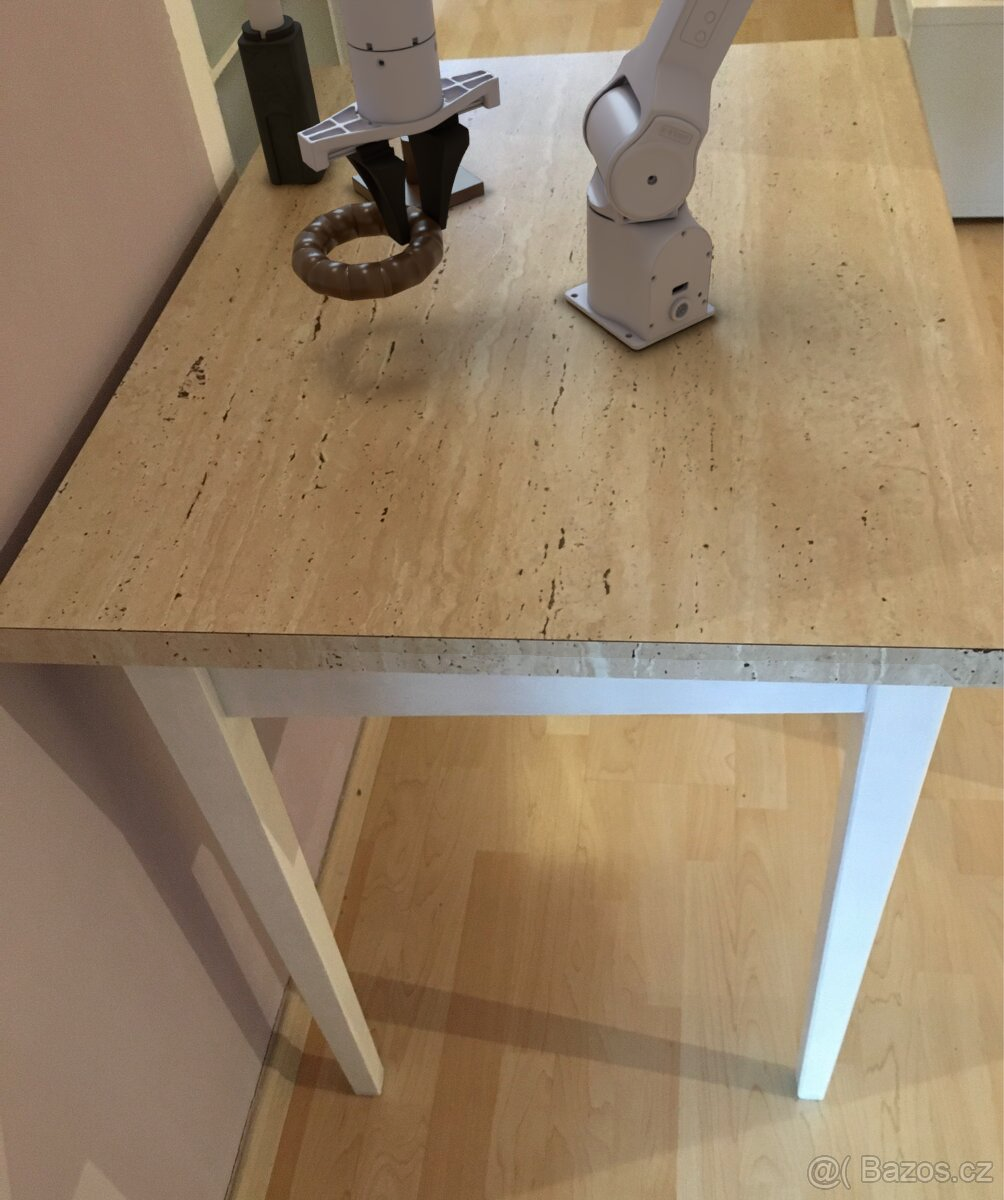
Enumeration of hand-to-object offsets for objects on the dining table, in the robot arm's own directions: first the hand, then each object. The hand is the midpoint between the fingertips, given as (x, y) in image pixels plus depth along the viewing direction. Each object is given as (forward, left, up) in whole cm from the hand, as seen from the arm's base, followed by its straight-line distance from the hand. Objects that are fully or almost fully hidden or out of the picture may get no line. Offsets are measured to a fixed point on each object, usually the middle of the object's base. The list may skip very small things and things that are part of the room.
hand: (417, 231), depth 77 cm
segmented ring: (0, +4, 0) cm, 4 cm away
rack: (+20, -10, -8) cm, 24 cm away
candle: (+31, -3, -9) cm, 32 cm away
